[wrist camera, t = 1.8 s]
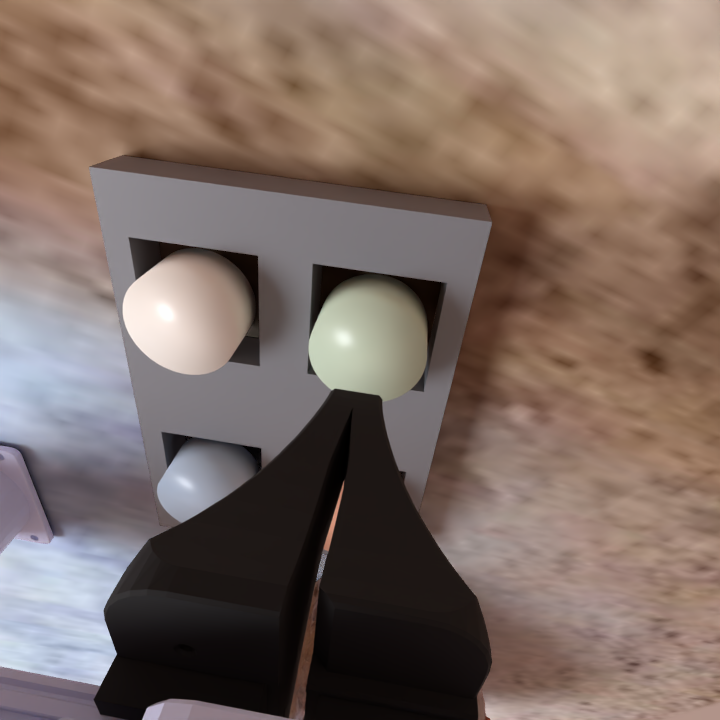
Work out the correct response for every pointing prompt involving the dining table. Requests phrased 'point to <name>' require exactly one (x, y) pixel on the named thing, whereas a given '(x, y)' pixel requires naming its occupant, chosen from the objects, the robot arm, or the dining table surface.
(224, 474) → the blue button
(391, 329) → the sage button
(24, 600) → the dining table surface
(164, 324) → the cream button
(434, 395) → the button panel
